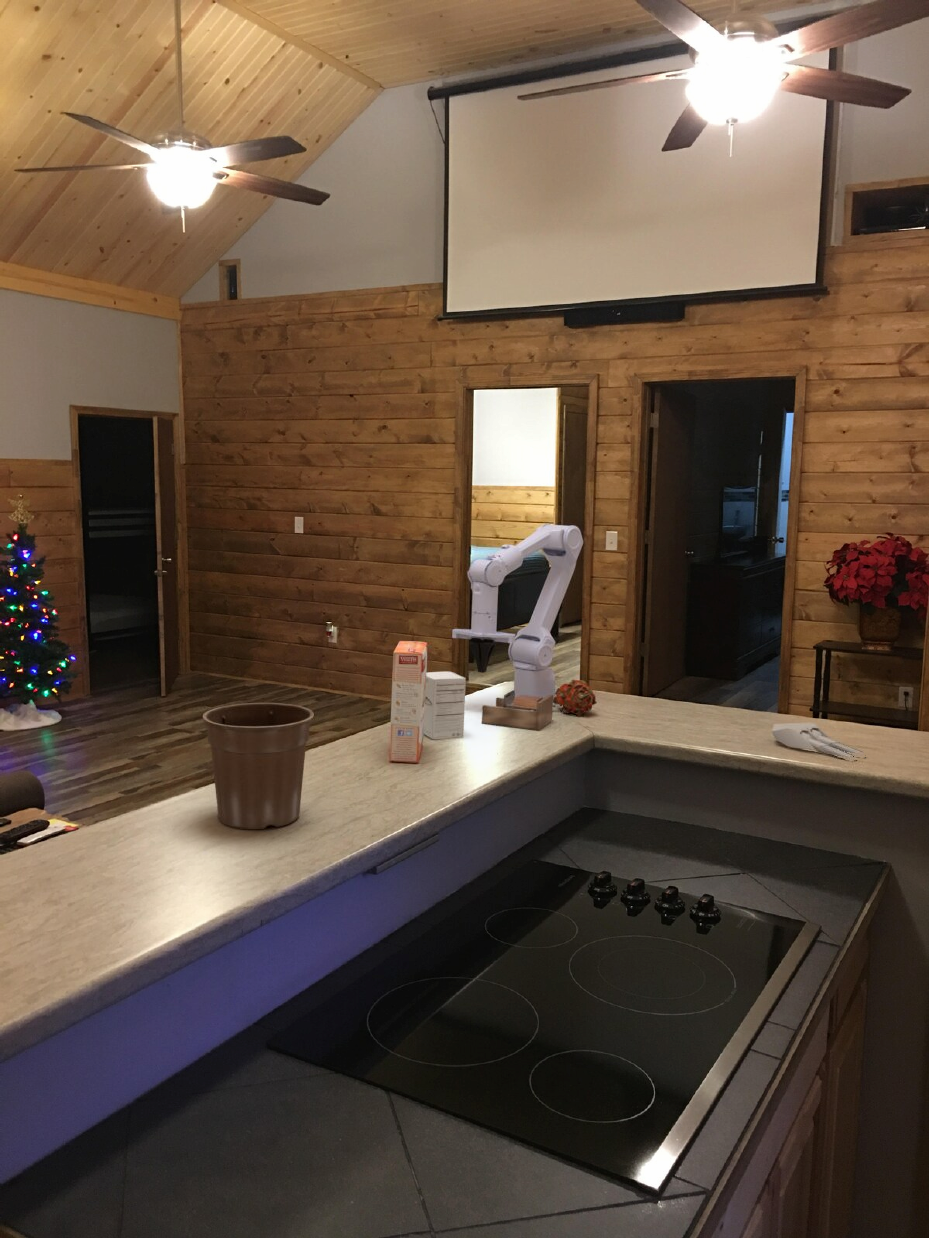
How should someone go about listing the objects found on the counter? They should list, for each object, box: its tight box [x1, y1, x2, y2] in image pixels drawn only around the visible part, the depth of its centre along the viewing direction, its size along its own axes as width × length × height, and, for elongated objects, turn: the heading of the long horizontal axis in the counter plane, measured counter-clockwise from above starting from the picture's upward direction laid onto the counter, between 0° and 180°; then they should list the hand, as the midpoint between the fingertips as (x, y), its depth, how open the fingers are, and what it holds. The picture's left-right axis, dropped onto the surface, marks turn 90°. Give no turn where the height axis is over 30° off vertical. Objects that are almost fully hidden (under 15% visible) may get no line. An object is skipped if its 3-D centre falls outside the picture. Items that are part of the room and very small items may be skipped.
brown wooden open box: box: [481, 695, 553, 732], centre depth 220 cm, size 13×10×6 cm
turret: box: [771, 722, 864, 759], centre depth 207 cm, size 10×20×5 cm, turn 42°
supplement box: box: [423, 671, 467, 740], centre depth 207 cm, size 7×7×13 cm
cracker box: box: [388, 640, 428, 764], centre depth 190 cm, size 14×6×21 cm, turn 179°
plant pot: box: [202, 702, 315, 830], centre depth 151 cm, size 16×16×16 cm
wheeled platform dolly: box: [503, 689, 543, 711], centre depth 220 cm, size 8×8×5 cm
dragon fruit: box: [553, 679, 597, 716], centre depth 233 cm, size 8×8×12 cm
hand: (482, 671), depth 229 cm, fingers closed
